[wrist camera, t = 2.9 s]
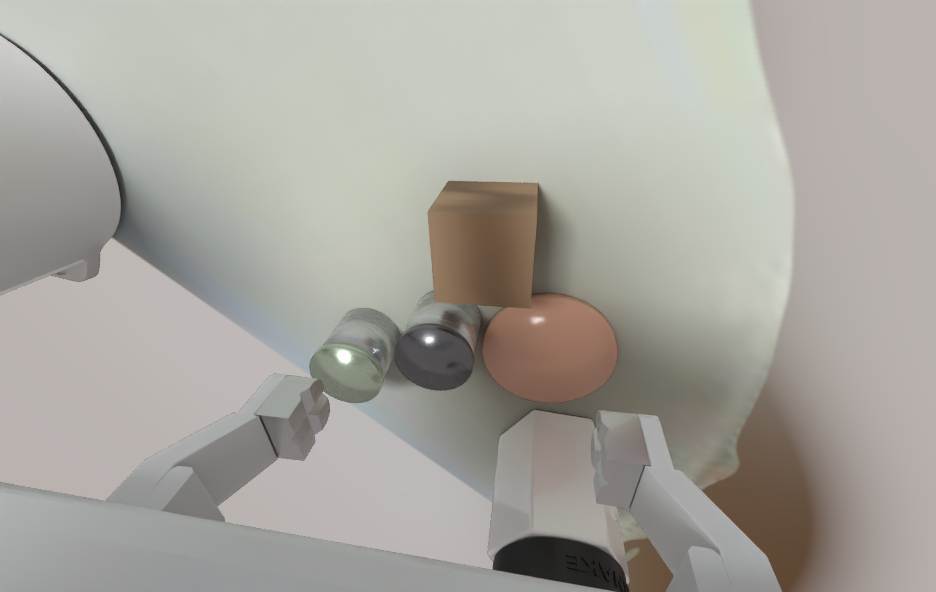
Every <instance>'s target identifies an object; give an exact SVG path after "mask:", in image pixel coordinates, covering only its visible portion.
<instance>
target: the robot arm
mask: <svg viewBox="0 0 936 592" xmlns="http://www.w3.org/2000/svg"><path fill="white" fill-rule="evenodd" d="M120 213H121V201H120V192H119V187H118V183H117V179H116V176H115V173H114V170H113V167H112V165H111V162H110V160H109V158H108V155H107V153H106V151H105V149H104V147H103V145H102V143H101V141H100V140H99V138H98V136H97V135H96V133H95V131H94V130H93V128H92V127H91V125H90V123H89V122H88V121H87V119H86V118H85V116H84V115H83V113H82V112H81V111H80V109H79V108H78V107H77V105H76V104H75V103H74V102H73V101H72V99H71V98H70V97H69V96H68V94H67V93H66V92H65V91H64V90H63V89H62V88H61V87H60V85H59V84H58V83H57V82H56V81H55V80H54V79H53V78H52V77H51V76H50V75H49V74H48V73H47V72H46V71H45V70H44V69H43V68H41V67H40V66H39V65H38V64H37V63H36V62H35V61H34V60H32V59H31V58H30V57H29V56H28V55H26V54H25V53H24V52H23V51H21V50H20V49H19V48H17V47H16V46H15V45H13V44H12V43H11V42H9V41H8V40H6V39H5V38H3V37H2V36H0V295H2V294H5V293H7V292H10V291H12V290H15V289H17V288H20V287H22V286H25V285H27V284H30V283H32V282H35V281H37V280H40V279H42V278H45V277H47V276H50V275H51V276H55V277H59V278H63V279H68V280H72V281H78V282H81V281H85V280H87V279H90V278H92V277H95V276H96V275H97V274H98V272H99V266H100V251H101V249H102V247H103V246H104V245H105V244H106V243H107V242H108V240H109V239H110V238H111V237H112V236H113V234H114V233H115V231H116V229H117V226H118V224H119V220H120ZM324 389H325V387H324V384H323V381H322V380H319V379H314V378H306V377H300V376H292V375H283V374H275V373H274V374H272V375H270V376H269V377H268V378H267V379H266V380H265V382H264V383H263V384H262V385H261V386H260V387H259V389H258V390H257V391H256V392H255V393H254V394H253V396H252V397H251V398H250V399H249V400H248V401H247V403H246V404H245V405H244V406H243V407H242V408H241V410H240V411H239V412H238V413H231V414H229V415H227V416H226V417H224V418H222V419H220V420H218V421H216V422H214V423H212V424H211V425H209V426H207V427H205V428H203V429H201V430H199V431H197V432H196V433H194V434H192V435H190V436H188V437H186V438H184V439H182V440H180V441H179V442H177V443H175V444H173V445H171V446H169V447H167V448H165V449H164V450H162V451H160V452H158V453H156V454H154V455H152V456H150V457H149V458H147V459H145V460H144V461H143V462H142V463H141V464H140V465H139V466H138V467H137V469H135V471H133V473H132V474H131V475H130V476H129V477H128V478H127V479H126V480H125V481H124V482H123V483H122V484H121V485H120V486H119V487H118V488H117V489H116V490H115V491H114V492H113V493H112V494H111V495H110V496H109V497H108V498H107V499H106V500H105V501H103V500H97V499H91V498H86V497H80V496H75V495H69V494H63V493H58V492H52V491H46V490H41V489H36V488H30V487H25V486H19V485H14V484H8V483H3V482H0V592H614V591H609V590H603V589H598V588H592V587H586V586H581V585H575V584H569V583H564V582H558V581H552V580H547V579H541V578H536V577H530V576H524V575H519V574H513V573H508V572H502V571H496V570H491V569H485V568H480V567H474V566H468V565H462V564H457V563H452V562H446V561H440V560H434V559H429V558H424V557H418V556H412V555H406V554H401V553H395V552H390V551H384V550H379V549H373V548H367V547H362V546H355V545H350V544H345V543H339V542H333V541H328V540H322V539H316V538H311V537H305V536H299V535H294V534H288V533H283V532H277V531H271V530H266V529H260V528H255V527H249V526H243V525H238V524H232V523H226V522H225V519H224V516H223V515H222V514H221V512H220V511H219V509H218V507H217V506H219V505H220V504H221V503H222V502H224V501H225V500H226V499H228V498H229V497H230V496H231V495H233V494H234V493H235V492H236V491H238V490H239V489H240V488H241V487H243V486H244V485H245V484H247V483H248V482H249V481H250V480H251V479H253V478H254V477H256V476H257V475H258V474H259V473H261V472H262V471H263V470H264V469H266V468H267V467H268V466H270V465H271V464H272V463H273V462H275V461H276V460H277V458H286V459H294V460H303V461H304V460H305V458H306V457H307V455H308V453H309V452H310V450H311V448H312V446H313V445H314V443H315V436H314V435H315V434H316V433H318V432H319V431H321V430H322V429H323V428H324V426H325V424H326V423H327V420H328V417H329V413H330V404H329V400H328V398H327V397H326V396H325V395H323V394H322V392H323V390H324ZM595 421H596V428H595V429H594V430H593V432H592V438H591V462H592V466H593V467H594V468H595V469H596V471H595V475H594V479H593V481H594V489H595V498H596V503H597V504H603V505H609V506H614V507H620V508H626V509H630V512H631V514H632V515H633V517H634V518H635V519H636V521H637V522H638V524H639V525H640V527H641V528H642V530H643V531H644V533H645V534H646V536H647V537H648V539H649V540H650V541H651V543H652V544H653V546H654V547H655V549H656V550H657V552H658V553H659V555H660V556H661V557H662V559H663V560H664V562H665V563H666V565H667V566H668V568H669V569H670V571H671V572H672V574H673V575H674V577H673V579H672V581H671V583H670V585H669V587H668V588H667V590H666V592H782V590H781V588H780V586H779V583H778V581H777V579H776V577H775V574H774V572H773V570H772V567H771V565H770V563H769V560H768V558H767V556H766V555H765V554H764V553H763V552H762V551H761V550H760V549H759V548H758V547H757V546H756V545H755V544H754V543H753V542H752V541H751V540H750V539H749V538H748V537H747V536H746V535H745V534H744V533H743V532H742V531H741V530H740V529H739V528H738V527H737V526H736V525H735V524H734V523H733V522H732V521H731V520H730V519H729V518H728V517H727V516H726V515H725V514H724V513H723V512H722V511H721V510H720V509H719V508H718V507H717V506H716V505H715V504H714V503H713V502H712V501H711V500H710V499H709V498H708V497H707V496H706V495H705V494H704V493H703V492H702V491H701V490H700V489H699V488H698V487H697V486H696V485H695V484H694V483H693V482H692V481H691V480H690V479H689V478H688V477H687V476H686V475H685V474H684V473H683V472H682V471H681V470H675V468H674V465H673V462H672V459H671V455H670V452H669V449H668V446H667V442H666V439H665V436H664V433H663V430H662V426H661V423H660V420H659V418H658V417H657V416H655V415H645V414H635V413H627V412H617V411H607V410H598V411H597V414H596V418H595Z"/></svg>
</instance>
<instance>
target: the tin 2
mask: <svg viewBox="0 0 936 592" xmlns="http://www.w3.org/2000/svg"><path fill="white" fill-rule="evenodd" d="M480 324H481V316H480V312H479V310H478V308H477V306H476V305H469V304H454V303H439V302H435V297H434V291H431V292H429V293H427V294H426V295H424V296H423V297H422V298H421V299H420V301H419V302H418V305H417V307H416V309H415V311H414V313H413V315H412V317H411V319H410V321H409V323H408V326H407V328H406V330H405V332H404V333H403V334H402V335H401V337H400V339H399V341H398V343H397V345H396V347H395V351H394V357H395V362H396V364H397V367H398V368H399V370H400V371H401V373H402V374H403V375H404V376H405V377H406V378H407V379H408V380H410V381H411V382H413V383H415V384H416V385H418V386H421V387H423V388H427V389H431V390H440V391H441V390H450V389H454V388H456V387H459V386H460V385H462V384H463V383H465V382H466V381H467V380H468V378H469V377H470V375H471V373H472V369H473V364H474V351H475V347H476V342H477V338H478V333H479V328H480Z"/></svg>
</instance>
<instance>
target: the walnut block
mask: <svg viewBox="0 0 936 592" xmlns="http://www.w3.org/2000/svg"><path fill="white" fill-rule="evenodd" d="M537 208H538V183H512V182H468V181H448V183H447V184H446V185H445V187H444V188H443V190H442V191H441V193H440V194H439V196H438V197H437V199H436V200H435V202H434V203H433V205H432V206H431V207H430V209H429V210H428V222H429V234H430V247H431V259H432V272H433V284H434V297H435V302H439V303H454V304H469V305H483V306H498V307H513V308H528V309H530V307H531V293H532V280H533V267H534V253H535V240H536V227H537Z"/></svg>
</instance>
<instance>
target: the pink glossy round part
mask: <svg viewBox="0 0 936 592" xmlns="http://www.w3.org/2000/svg"><path fill="white" fill-rule="evenodd" d="M482 353H483V360H484V363H485V366H486V368H487V370H488V372H489V373H490V375H491V376H492V377H493V379H494V380H495V381H496V382H497V383H498V384H499V385H500V386H502V387H503V388H504V389H506V390H507V391H509V392H511V393H512V394H515V395H517V396H519V397H522V398H525V399H528V400H532V401H537V402H546V403H559V402H567V401H571V400H575V399H578V398H581V397H584V396H586V395H588V394H590V393H592V392H594V391H595V390H597V389H598V388H599V387H601V386H602V385H603V384H604V383H605V382H606V381H607V380H608V378H609V377H610V376H611V374H612V372H613V370H614V369H615V366H616V363H617V357H618V348H617V343H616V339H615V335H614V332H613V329H612V327H611V325H610V324H609V322H608V320H607V319H606V318H605V317H604V316H603V314H602V313H600V312H599V311H598V310H597V309H596V308H594V307H593V306H591V305H590V304H588V303H586V302H584V301H582V300H580V299H577V298H574V297H571V296H566V295H561V294H536V295H531V307H530V309H528V308H513V307H503V308H502V309H501V310H500V311H499V312H497V314H496V315H495V316H494V317H493V318H492V320H491V321H490V323H489V324H488V327H487V329H486V332H485V336H484V340H483V348H482Z"/></svg>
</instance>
